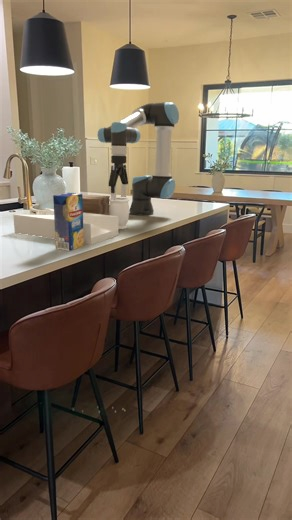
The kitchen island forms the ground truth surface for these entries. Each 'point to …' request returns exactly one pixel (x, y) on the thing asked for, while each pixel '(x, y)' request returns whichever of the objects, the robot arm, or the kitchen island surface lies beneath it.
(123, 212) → the jar
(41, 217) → the white open tray
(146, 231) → the kitchen island surface
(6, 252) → the kitchen island surface
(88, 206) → the walnut block
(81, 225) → the blue cardboard box
